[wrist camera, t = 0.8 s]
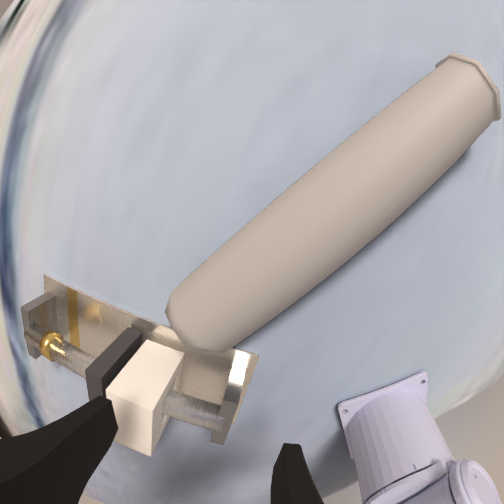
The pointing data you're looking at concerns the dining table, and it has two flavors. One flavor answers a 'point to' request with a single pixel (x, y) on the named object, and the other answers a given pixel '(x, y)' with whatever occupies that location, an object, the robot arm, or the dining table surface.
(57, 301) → the rod rig
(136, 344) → the dark gray slab
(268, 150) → the dining table surface
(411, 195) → the tube
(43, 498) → the robot arm
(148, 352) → the sleeve
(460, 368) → the dining table surface
